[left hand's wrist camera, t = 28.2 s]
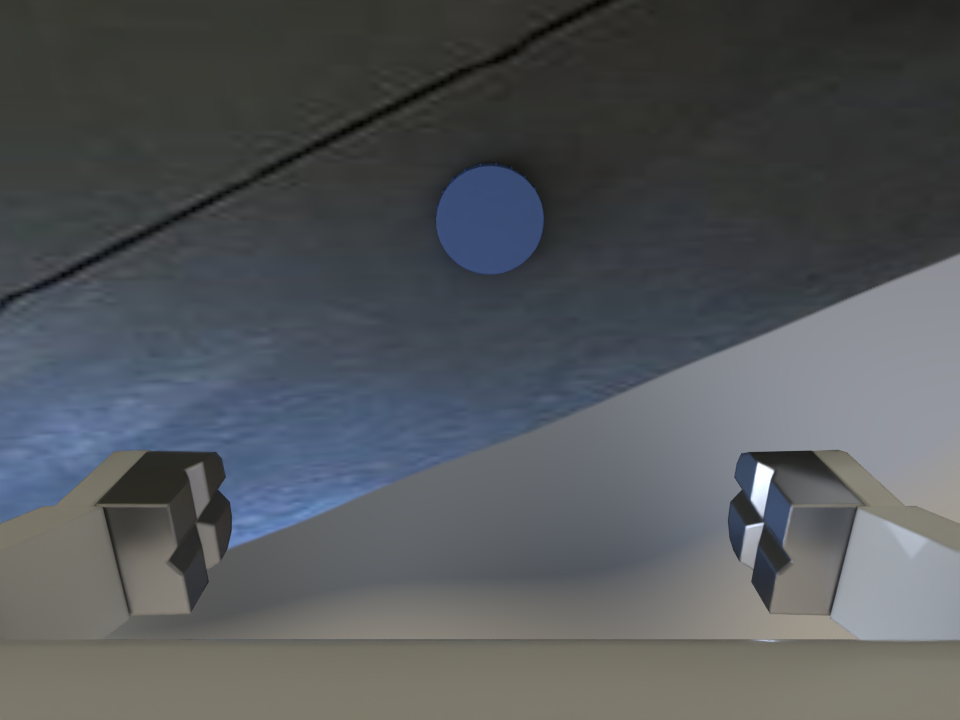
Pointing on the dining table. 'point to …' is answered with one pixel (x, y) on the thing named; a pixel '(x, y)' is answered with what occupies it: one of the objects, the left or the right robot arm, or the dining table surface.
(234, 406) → the dining table surface
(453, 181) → the lid
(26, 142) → the dining table surface
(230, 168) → the dining table surface
